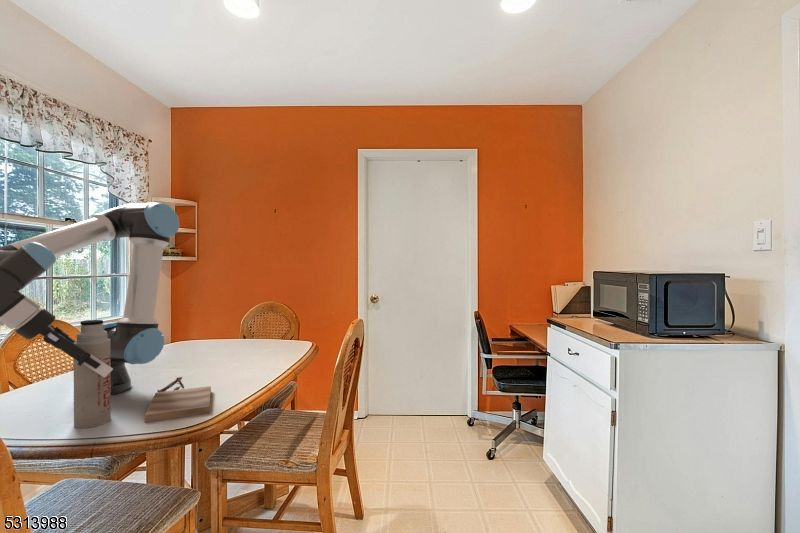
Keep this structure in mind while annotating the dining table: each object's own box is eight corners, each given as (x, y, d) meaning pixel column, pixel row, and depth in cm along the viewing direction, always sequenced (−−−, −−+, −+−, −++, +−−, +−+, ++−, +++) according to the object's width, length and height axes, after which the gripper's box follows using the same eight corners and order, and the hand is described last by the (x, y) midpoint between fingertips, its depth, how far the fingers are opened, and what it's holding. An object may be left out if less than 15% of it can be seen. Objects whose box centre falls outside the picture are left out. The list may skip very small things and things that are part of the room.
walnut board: (155, 398, 125) (155, 392, 125) (210, 391, 132) (210, 386, 132) (144, 422, 107) (144, 415, 107) (209, 413, 114) (209, 406, 114)
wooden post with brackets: (187, 386, 135) (182, 375, 134) (165, 401, 130) (159, 390, 128) (185, 385, 136) (179, 374, 135) (162, 400, 131) (156, 389, 129)
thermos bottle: (118, 417, 110) (117, 318, 110) (90, 429, 102) (89, 323, 102) (94, 415, 112) (94, 317, 111) (65, 426, 104) (65, 322, 104)
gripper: (13, 324, 104) (87, 371, 115) (13, 337, 87) (99, 390, 99) (40, 303, 108) (109, 350, 119) (45, 312, 91) (125, 365, 102)
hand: (105, 368), depth 109 cm, fingers open, 11 cm apart
